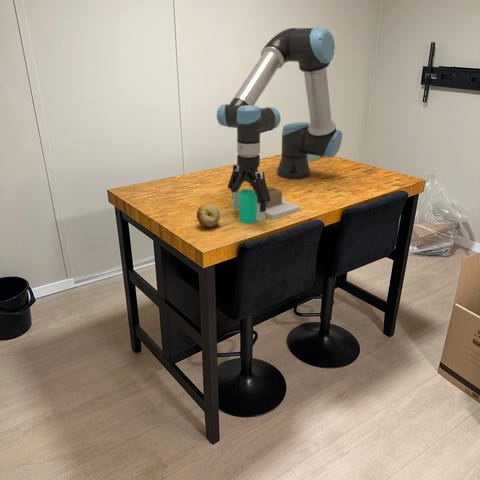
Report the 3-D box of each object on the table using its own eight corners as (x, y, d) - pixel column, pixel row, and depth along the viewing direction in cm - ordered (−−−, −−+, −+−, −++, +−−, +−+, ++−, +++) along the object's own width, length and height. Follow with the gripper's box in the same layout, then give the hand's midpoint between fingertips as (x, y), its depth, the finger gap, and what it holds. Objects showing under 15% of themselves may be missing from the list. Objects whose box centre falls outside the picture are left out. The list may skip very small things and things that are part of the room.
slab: (237, 204, 177) (237, 200, 177) (264, 196, 185) (264, 192, 184) (272, 219, 163) (272, 215, 162) (300, 210, 171) (300, 206, 170)
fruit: (193, 229, 155) (192, 207, 152) (204, 220, 162) (203, 199, 159) (214, 232, 153) (213, 210, 149) (224, 223, 160) (223, 201, 156)
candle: (238, 217, 165) (238, 185, 160) (255, 216, 166) (256, 184, 161) (240, 223, 160) (240, 190, 155) (257, 223, 160) (258, 190, 155)
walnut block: (255, 202, 174) (255, 190, 172) (269, 198, 178) (269, 186, 176) (267, 207, 169) (267, 194, 167) (281, 203, 173) (282, 190, 171)
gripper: (217, 149, 160) (218, 206, 168) (264, 164, 142) (263, 227, 151) (234, 146, 164) (234, 202, 173) (282, 160, 146) (280, 222, 155)
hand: (248, 214), depth 162 cm, fingers open, 13 cm apart
